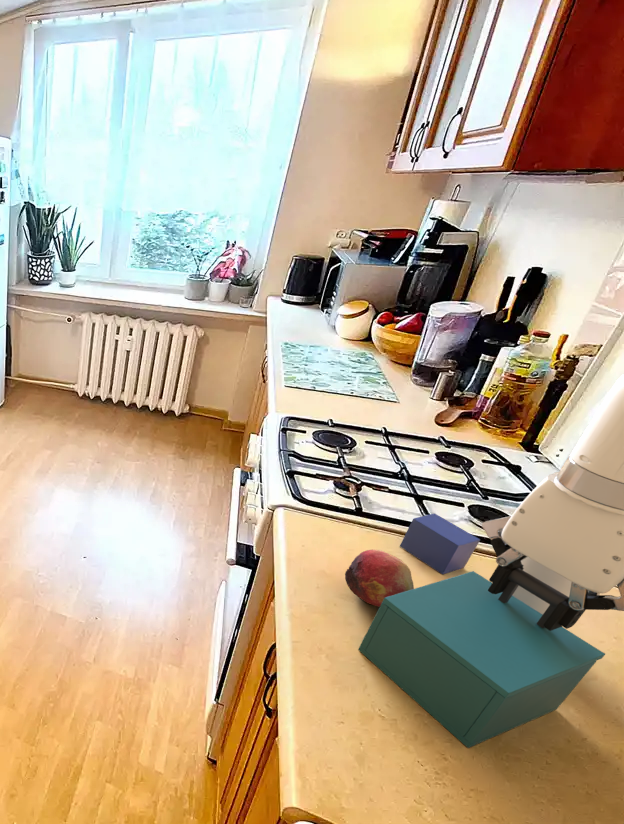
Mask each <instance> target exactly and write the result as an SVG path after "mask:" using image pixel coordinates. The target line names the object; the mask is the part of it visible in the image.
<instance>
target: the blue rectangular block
mask: <svg viewBox="0 0 624 824" xmlns="http://www.w3.org/2000/svg"><path fill="white" fill-rule="evenodd" d="M401 540H402V541H401V542H400V544H399V547H400V548H401V549H403V550H404V551H406V552H408V553H409V554H410V555H412V556H414V557H415V558H417V559H418V560H419V561H421V562H423V563H424V564H426V565H427V566H429V567H430V568H431V569H433V570H434V571H436V572H437V573H439V574H440V575H445V574H449V573H452V572H456V571H459V570H462V569H464V568H466V565H467V563H468V562H469V560H470V558H471V556H472V555H473V553H474V552H475V549H476V548H477V547H478V545H479V543H480V541H481V539H480V538H478V537H477V536H475V535H473V534H471V533H469V532H468V531H467V530H464V529H463V528H462V527H461V528H460V527H459V526H457V525H455V524H454V523H453V522H451V521H449V520H447V519H445V518H443V517H442V516H440V515H438V514H436V513H430V514H425V515H422V516H418V517H414V518H412V520H411V522H410V525H409V526H408V529H407V530H406V532H405V534H404V536H403V538H402V539H401Z"/></svg>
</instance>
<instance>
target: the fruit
mask: <svg viewBox="0 0 624 824" xmlns="http://www.w3.org/2000/svg"><path fill="white" fill-rule="evenodd" d="M411 571H412V570H411V569H410V568H409V565H407V564H406V563H405V562H404V561H403V560H402V559H400V558H399V557H396V556H395V555H393V554H390V553H389V552H385V550H384V551H383V550H380V549H367V550H365V551H361V552H360V553H359V554H358V555H356V556H355V558H354V559H353V560H352V561H351V563H350V565H349V566H348V568H347V569H346V570H345V573H344V579H345V583H346V585H347V586H348V588H349V590H350V591H351V592H352V593H353V594H354V595H355V596H357V598H359V599H360V600H362V601H364V602H365V603H367V604H370V605H371V606H375V607H378V608H380V606H381V604H382V602H383V600H384V598H385V597H389V596H392V595H395V594H399V593H402V592H405V591H409V590H412V589H415V587H414V581H413V577H412V572H411Z"/></svg>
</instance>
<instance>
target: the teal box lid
mask: <svg viewBox="0 0 624 824" xmlns="http://www.w3.org/2000/svg"><path fill="white" fill-rule="evenodd" d="M508 579H509V580H510V582H509V583H508V585H507V586H506V588H505V589H504V591H503V592H501V593H498V594H492V593H490V592H489V591H488V589H489V587H490V586H491V584H492V582H491V581H489V579H487V578H485V577H483V576H482V575H481V574H479V573H477V572H475V571H474V570H472V571H469V572H466V573H462V574H459V575H456V576H451V577H449V578H445V579H442V580H439V581H435V582H432V583H429V584H425V585H423V586H419V587H416V588H415V587H414V589H412V590H409V591H405V592H402V593H399V594H395V595H392V596H389V597H385V598H384V600H383V603H384V604H385V605H387V606H388V607H389V608H391V609H392V610H393V611H394V612H396V613H397V614H398V615H400V616H401V617H402V618H403V619H405V620H406V621H407V622H409V623H410V624H411V625H412V626H414V627H415V628H416V629H418V630H419V631H420V632H421V633H423V634H424V635H425V636H427V637H428V638H429V639H430V640H432V641H433V642H434V643H436V644H437V645H438V646H439V647H441V648H442V649H443V650H445V651H446V652H447V653H448V654H450V655H451V656H452V657H454V658H455V659H456V660H457V661H459V662H460V663H461V664H463V665H464V666H465V667H466V668H468V669H469V670H470V671H472V672H473V673H474V674H475V675H477V676H478V677H479V678H480V679H482V680H483V681H484V682H486V683H487V684H488V685H489V686H491V687H492V688H493V689H495V690H496V691H497V692H498V693H500V694H501V695H502V696H504V697H505V698H507V697H509V696H512V695H514V694H517V693H519V692H521V691H524V690H526V689H529V688H531V687H534V686H536V685H539V684H541V683H543V682H546V681H548V680H551V679H553V678H556V677H558V676H560V675H563V674H565V673H568V672H570V671H573V670H575V669H578V668H580V667H582V666H585V665H587V664H590V663H592V662H595V661H596V662H597V661H599V660H602V659H603V658H604V657H605V656H606V653H605V652H603V651H602V650H600V649H599V648H596V646H593V645H592V644H590V643H589V642H587V641H586V640H584V639H583V638H581V637H579V636H578V635H576V634H575V633H573V632H572V631H570V630H568V629H566V628H564V627H563V626H562V627H560V628H557V629H554V630H552V631H549V630H548V629H546V628H545V626H544V623H545V622H546V620H547V619H548V618H549V616H550V615H551V613H552V612H553V611H554V609H555V608H556V607H557V605H558V604H559V603H560V602H563V601H566V600H568V598H569V597H568V596H566V595H564V594H563V593H561V592H559V591H557V590H556V589H554V588H552V587H551V586H549V585H547V584H545V583H544V582H542V581H540V580H539V579H537V578H535V577H533V576H532V575H530V574H528V573H527V572H525V571H523V570H521V569H520V568H518V569H515V570H514V571H513V572H512V573H511V574H510V575H509V577H508ZM518 586H520V587H522V588H524V589H525V590H527V591H529V592H530V593H532V594H533V595H535V596H537V597H538V598H540V599H542V600H543V601H545V602H547V603H548V604H550V605H549V607H548V608H547V610H546V611H545V612H544V614H543V615H542V614H541V613H539V612H538V611H536V610H534V609H533V608H531V607H530V606H528V605H527V604H525V603H523V602H522V601H520V600H519V599H517V598H515V597H514V596H512V595H513V593H514V592H515V590H516V589H517V587H518Z"/></svg>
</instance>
